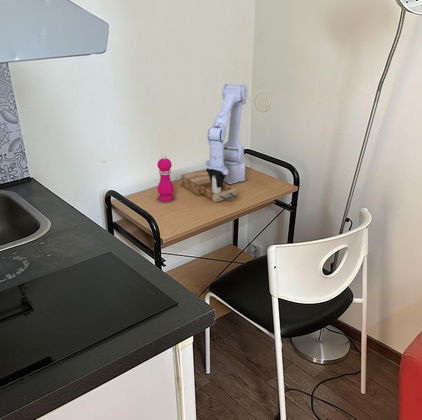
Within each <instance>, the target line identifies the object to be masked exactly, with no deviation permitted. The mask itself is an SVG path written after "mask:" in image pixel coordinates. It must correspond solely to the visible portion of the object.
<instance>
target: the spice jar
mask: <svg viewBox="0 0 422 420" xmlns="http://www.w3.org/2000/svg"><path fill="white" fill-rule="evenodd" d="M212 192H213V193H219V192H221V187H219V188H217V185H216V178H215V175H214V176H212Z"/></svg>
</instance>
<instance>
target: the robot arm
mask: <svg viewBox="0 0 422 420" xmlns="http://www.w3.org/2000/svg"><path fill="white" fill-rule="evenodd" d="M221 90H222V91H221V95H222V100H223V102H222V105H221V109H220V112H217V113H216V115H215V119H214V121H213V124H212V126H211V127H209V128H208V130H207V135H206V138H207V142H208V146H209V160H205V166H206V167H207V168H205V170H206V171H207V172H208V174H209V177H210V181H211V184H212V176H214V175H215V178H216V185H217V188H219V187H222V184H224V182H225V184H228V185H232V184H237V183H240V182H244V181H246V176H245V175H246V166H245V165H246V164H245V162H244V157H245V152H244V151H245V148H244V145H242V143H240V141H239V139H240V130H241V121H242V111H243V105H246V104H247V100H248V86H247V85H246V84H228V83H224V85H223V86H222V89H221ZM228 125H229V126H228ZM227 127H228V134H227ZM226 137H227V141H226V142H225V140H226Z"/></svg>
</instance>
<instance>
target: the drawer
mask: <svg viewBox="0 0 422 420" xmlns="http://www.w3.org/2000/svg"><path fill="white" fill-rule="evenodd" d="M200 192H201V193H203V194H202V195H205V197H207V198H209V199H211V200H212V202H213V203H216V202H220V201H224V202H227V201H230V200H234V199H237V198H238V194H237V188H232V187H230V186H228V185H227V184H226V183H223V184H222V187H221V192H219V193H213V192H212V184H211V183H209V184H205V185H201V186H200Z"/></svg>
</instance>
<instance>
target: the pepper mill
mask: <svg viewBox="0 0 422 420" xmlns="http://www.w3.org/2000/svg"><path fill="white" fill-rule="evenodd" d="M156 166H157V168H158V169H159V170H158V173H159V176H160V179H159V182H158V185H157V193H158V200H159V201H160V202H164V203H166V202H171V201H173V200H174V194H173V193H174V192H175V187H174V184H173V182H172V180H171V173H172V169H171V168H172V167H173V165H172V161H171V160H170V159H169V158H168V157H167V155H165V154H164V155H162V156H161V158H160V159H158V161H157V165H156Z"/></svg>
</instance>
